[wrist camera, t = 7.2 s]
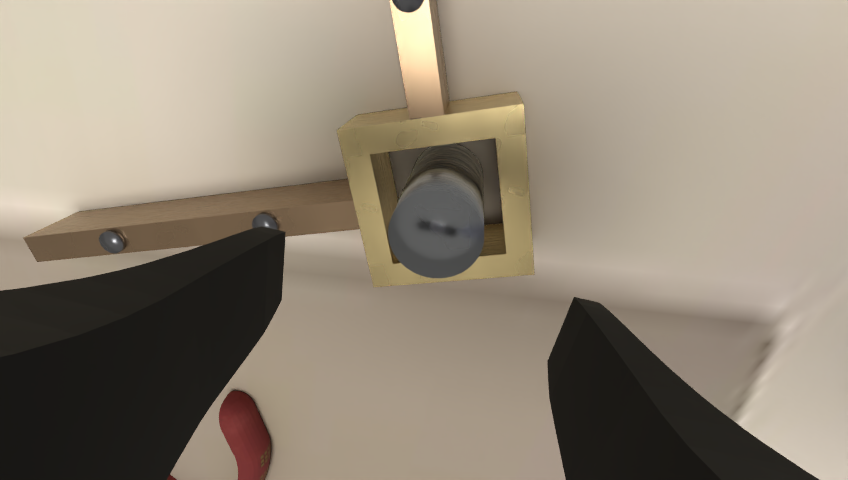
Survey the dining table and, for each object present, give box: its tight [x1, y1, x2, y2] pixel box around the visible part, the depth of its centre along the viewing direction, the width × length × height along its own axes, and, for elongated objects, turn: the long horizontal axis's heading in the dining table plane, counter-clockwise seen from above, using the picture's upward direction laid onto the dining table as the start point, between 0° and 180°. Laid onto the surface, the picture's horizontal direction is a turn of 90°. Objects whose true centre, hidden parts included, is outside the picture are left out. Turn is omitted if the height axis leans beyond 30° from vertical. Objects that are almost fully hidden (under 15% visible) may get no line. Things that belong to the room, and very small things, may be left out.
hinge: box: [23, 0, 534, 287], centre depth 16 cm, size 22×22×3 cm
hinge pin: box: [388, 143, 484, 278], centre depth 17 cm, size 3×3×6 cm
